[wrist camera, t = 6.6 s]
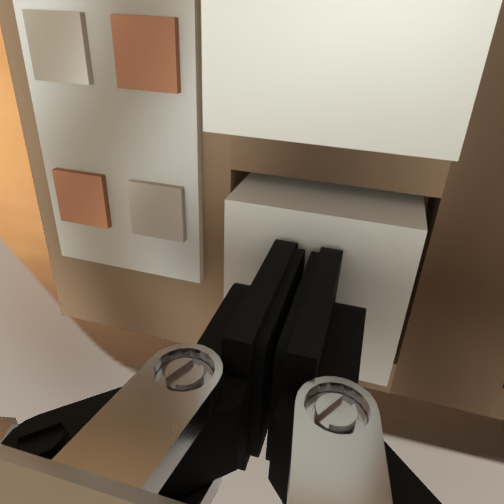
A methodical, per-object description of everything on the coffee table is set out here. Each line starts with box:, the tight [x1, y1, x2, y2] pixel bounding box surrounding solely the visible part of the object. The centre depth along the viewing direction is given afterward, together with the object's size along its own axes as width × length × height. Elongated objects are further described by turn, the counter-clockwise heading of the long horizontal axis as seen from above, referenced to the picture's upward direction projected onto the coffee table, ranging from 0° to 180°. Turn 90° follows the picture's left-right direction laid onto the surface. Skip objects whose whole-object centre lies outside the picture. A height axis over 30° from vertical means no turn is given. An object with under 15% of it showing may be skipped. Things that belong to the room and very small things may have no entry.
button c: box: [201, 0, 502, 161], centre depth 8 cm, size 5×5×3 cm
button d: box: [224, 172, 428, 387], centre depth 12 cm, size 5×5×3 cm
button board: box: [0, 0, 504, 420], centre depth 11 cm, size 22×14×4 cm, turn 87°
